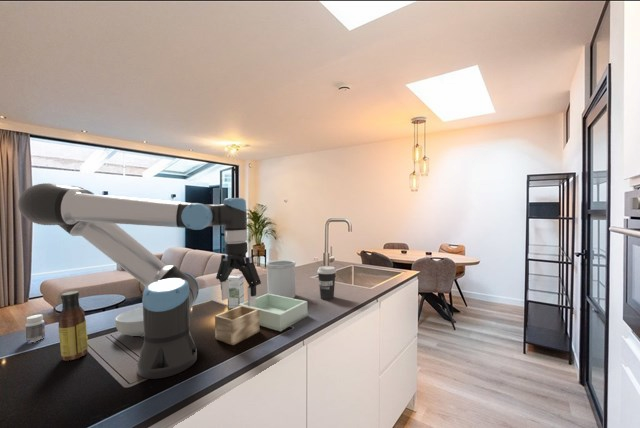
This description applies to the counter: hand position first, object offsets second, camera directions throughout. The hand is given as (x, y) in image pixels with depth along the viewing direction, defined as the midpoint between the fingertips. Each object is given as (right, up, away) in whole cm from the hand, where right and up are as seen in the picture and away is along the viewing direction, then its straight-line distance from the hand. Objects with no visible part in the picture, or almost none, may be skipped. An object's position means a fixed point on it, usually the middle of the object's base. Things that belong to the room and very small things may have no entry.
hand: (238, 302), depth 98 cm
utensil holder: (+9, -11, +43) cm, 45 cm away
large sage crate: (+10, -11, +16) cm, 22 cm away
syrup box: (-9, -12, +29) cm, 32 cm away
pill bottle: (-70, -13, -1) cm, 71 cm away
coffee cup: (+32, -11, +40) cm, 52 cm away
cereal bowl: (-36, -12, +4) cm, 38 cm away
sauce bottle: (-46, -13, -13) cm, 50 cm away
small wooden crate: (0, -12, 0) cm, 12 cm away
